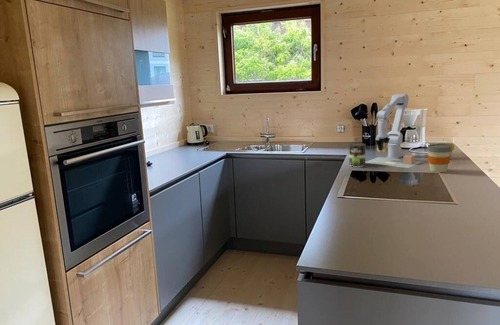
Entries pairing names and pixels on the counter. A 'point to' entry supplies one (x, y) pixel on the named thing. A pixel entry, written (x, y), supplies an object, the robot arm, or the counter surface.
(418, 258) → the counter surface
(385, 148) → the maple block
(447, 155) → the reusable coffee cup
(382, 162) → the pale blue flat sheet
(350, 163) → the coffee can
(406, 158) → the terracotta block
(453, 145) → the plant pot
